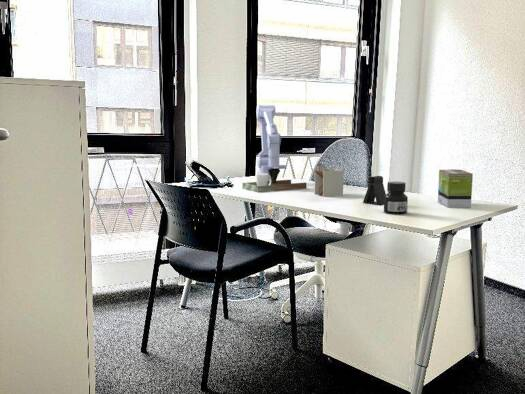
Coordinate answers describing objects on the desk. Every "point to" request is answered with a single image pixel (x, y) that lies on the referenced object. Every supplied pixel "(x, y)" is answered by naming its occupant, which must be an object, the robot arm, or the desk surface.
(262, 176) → the cup
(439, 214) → the desk surface
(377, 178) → the black binoculars
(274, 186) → the trap box
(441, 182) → the tea box
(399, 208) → the ink bottle
